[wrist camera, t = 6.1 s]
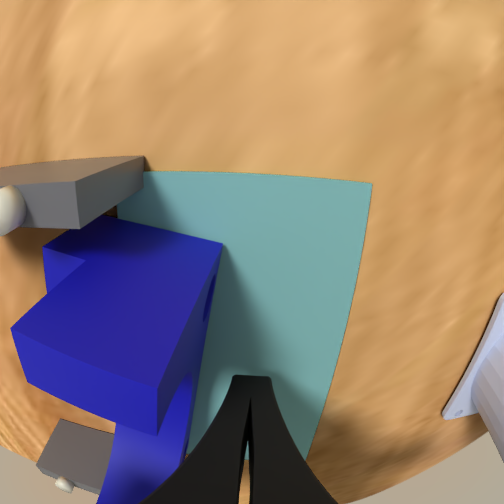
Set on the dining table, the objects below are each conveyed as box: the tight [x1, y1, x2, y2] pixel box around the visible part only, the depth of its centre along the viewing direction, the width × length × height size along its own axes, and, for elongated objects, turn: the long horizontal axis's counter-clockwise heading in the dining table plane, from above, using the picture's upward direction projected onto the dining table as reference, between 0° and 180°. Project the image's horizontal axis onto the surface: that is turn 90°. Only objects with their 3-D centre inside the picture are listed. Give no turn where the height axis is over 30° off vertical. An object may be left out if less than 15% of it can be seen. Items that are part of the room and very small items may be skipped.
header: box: [0, 156, 144, 495], centre depth 10 cm, size 8×16×5 cm, turn 178°
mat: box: [117, 171, 372, 460], centre depth 12 cm, size 8×15×1 cm, turn 178°
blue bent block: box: [11, 215, 223, 504], centre depth 10 cm, size 12×4×6 cm, turn 168°
